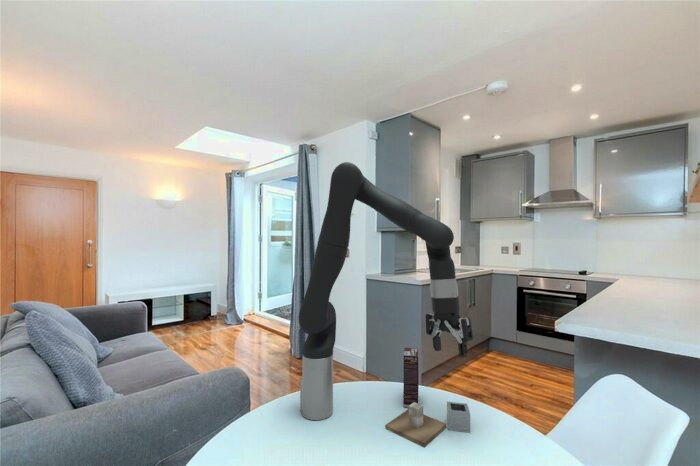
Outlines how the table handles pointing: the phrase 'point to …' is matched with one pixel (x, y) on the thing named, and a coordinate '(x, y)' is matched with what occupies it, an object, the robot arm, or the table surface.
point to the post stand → (416, 425)
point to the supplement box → (410, 376)
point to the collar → (458, 417)
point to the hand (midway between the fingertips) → (450, 353)
